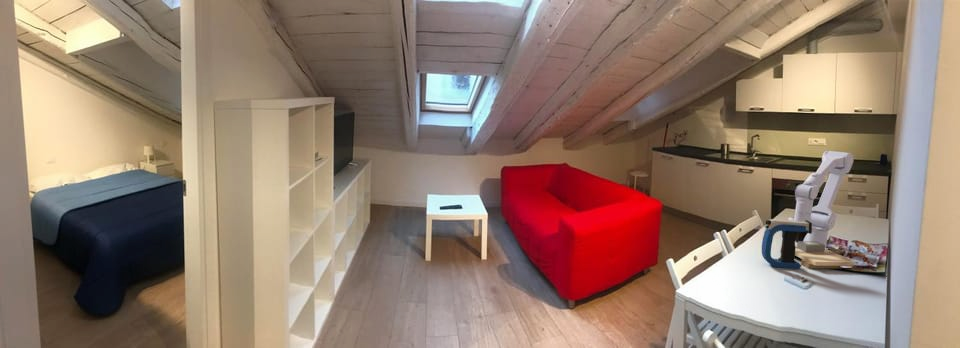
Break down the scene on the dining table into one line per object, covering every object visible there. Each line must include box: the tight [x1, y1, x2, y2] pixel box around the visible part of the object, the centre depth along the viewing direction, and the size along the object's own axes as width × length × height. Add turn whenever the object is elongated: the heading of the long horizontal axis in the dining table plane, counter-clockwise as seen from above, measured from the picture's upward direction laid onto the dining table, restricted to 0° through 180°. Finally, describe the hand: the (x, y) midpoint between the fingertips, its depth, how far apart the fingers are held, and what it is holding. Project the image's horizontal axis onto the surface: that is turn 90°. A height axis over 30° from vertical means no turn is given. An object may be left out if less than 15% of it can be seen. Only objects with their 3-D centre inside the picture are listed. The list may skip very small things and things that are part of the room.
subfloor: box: [779, 244, 856, 269], centre depth 189 cm, size 20×18×4 cm
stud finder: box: [796, 241, 825, 252], centre depth 192 cm, size 5×8×3 cm, turn 91°
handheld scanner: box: [761, 218, 812, 270], centre depth 181 cm, size 4×16×19 cm, turn 78°
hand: (798, 242), depth 199 cm, fingers closed
